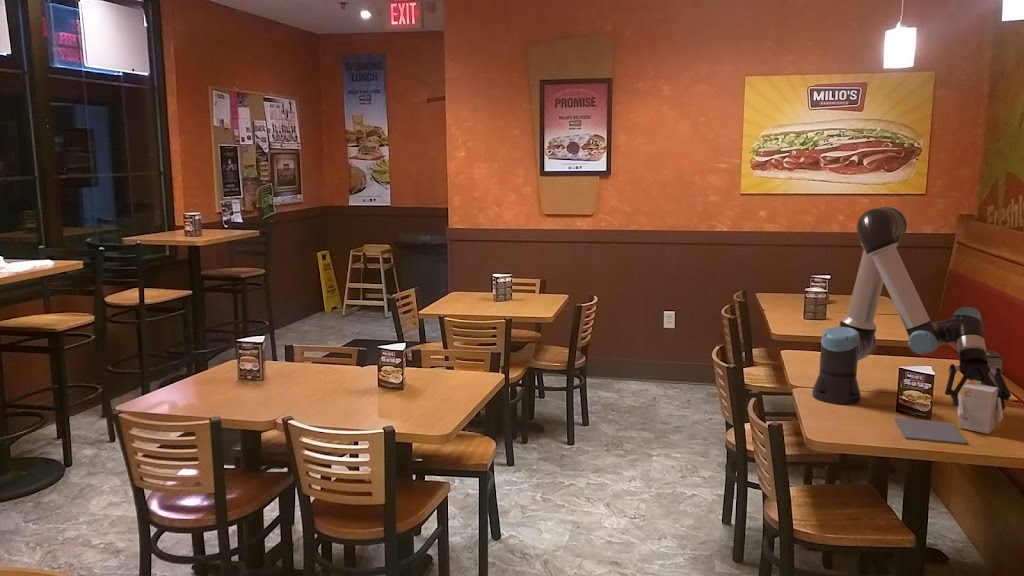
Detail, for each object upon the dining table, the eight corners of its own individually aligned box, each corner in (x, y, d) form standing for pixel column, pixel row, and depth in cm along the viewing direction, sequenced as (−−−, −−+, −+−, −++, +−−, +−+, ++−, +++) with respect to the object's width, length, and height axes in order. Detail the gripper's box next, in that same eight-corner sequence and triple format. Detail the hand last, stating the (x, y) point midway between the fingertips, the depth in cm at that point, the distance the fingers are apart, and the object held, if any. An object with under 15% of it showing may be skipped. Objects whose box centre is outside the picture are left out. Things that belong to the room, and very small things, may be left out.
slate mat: (905, 438, 229) (905, 436, 229) (894, 419, 246) (894, 417, 246) (966, 444, 224) (967, 442, 224) (951, 424, 241) (951, 422, 241)
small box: (993, 429, 236) (999, 387, 234) (988, 434, 232) (993, 392, 230) (963, 422, 242) (968, 381, 240) (957, 427, 237) (962, 386, 235)
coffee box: (968, 394, 272) (972, 349, 270) (988, 395, 271) (993, 350, 268) (978, 402, 263) (983, 355, 261) (999, 403, 262) (1004, 356, 260)
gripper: (1009, 362, 245) (1019, 427, 233) (929, 356, 251) (935, 419, 239) (1016, 349, 239) (1027, 415, 227) (935, 343, 246) (941, 407, 233)
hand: (980, 417), depth 233 cm, fingers closed on small box, 10 cm apart
